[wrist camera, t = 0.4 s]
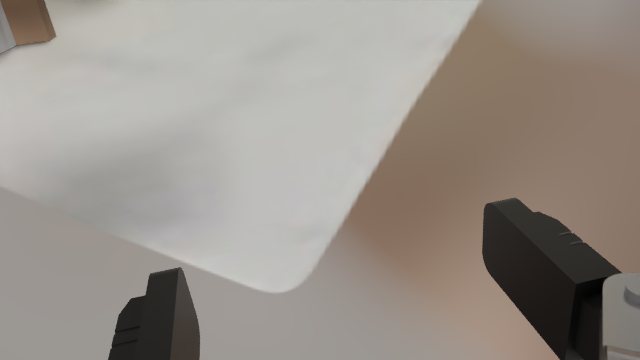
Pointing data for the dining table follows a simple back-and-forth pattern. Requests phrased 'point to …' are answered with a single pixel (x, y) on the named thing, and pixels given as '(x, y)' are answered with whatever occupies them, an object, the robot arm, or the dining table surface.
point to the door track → (24, 23)
